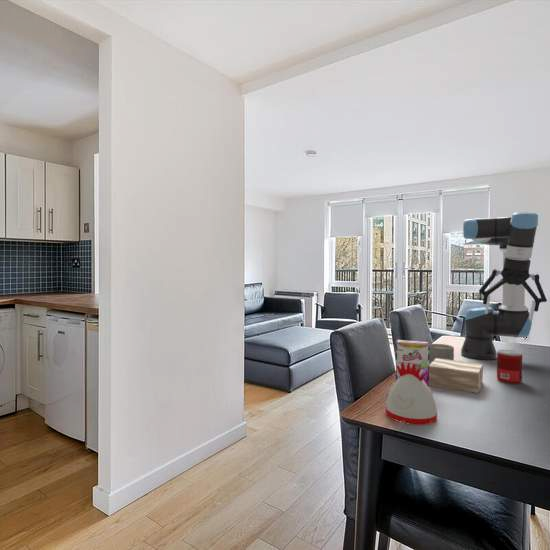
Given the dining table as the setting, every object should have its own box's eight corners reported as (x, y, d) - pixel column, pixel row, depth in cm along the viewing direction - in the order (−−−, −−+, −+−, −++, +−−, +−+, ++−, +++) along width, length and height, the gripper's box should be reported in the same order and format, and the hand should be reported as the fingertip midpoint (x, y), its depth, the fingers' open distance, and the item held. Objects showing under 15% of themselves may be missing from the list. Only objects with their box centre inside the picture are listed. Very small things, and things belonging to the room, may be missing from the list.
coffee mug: (454, 368, 156) (454, 345, 156) (453, 374, 148) (453, 349, 148) (420, 364, 163) (420, 342, 163) (417, 370, 154) (417, 346, 154)
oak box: (436, 375, 146) (436, 358, 146) (482, 382, 137) (482, 364, 137) (428, 385, 135) (428, 365, 135) (478, 393, 126) (478, 372, 126)
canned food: (525, 384, 135) (526, 354, 135) (501, 383, 137) (501, 353, 136) (516, 378, 143) (516, 350, 142) (493, 377, 144) (494, 349, 144)
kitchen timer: (399, 402, 117) (399, 355, 117) (444, 414, 108) (444, 363, 108) (377, 415, 107) (377, 363, 107) (424, 429, 98) (425, 372, 98)
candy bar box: (395, 388, 131) (395, 341, 131) (395, 384, 136) (395, 339, 135) (429, 391, 127) (429, 344, 127) (428, 387, 132) (429, 341, 132)
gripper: (476, 256, 131) (468, 313, 136) (564, 264, 119) (552, 326, 124) (477, 252, 137) (469, 307, 142) (560, 259, 125) (548, 318, 131)
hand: (507, 316), depth 133 cm, fingers open, 13 cm apart
